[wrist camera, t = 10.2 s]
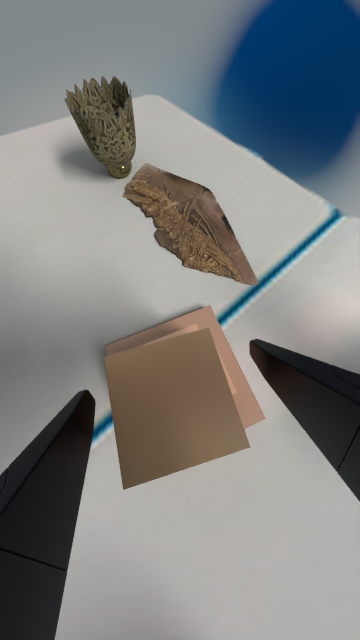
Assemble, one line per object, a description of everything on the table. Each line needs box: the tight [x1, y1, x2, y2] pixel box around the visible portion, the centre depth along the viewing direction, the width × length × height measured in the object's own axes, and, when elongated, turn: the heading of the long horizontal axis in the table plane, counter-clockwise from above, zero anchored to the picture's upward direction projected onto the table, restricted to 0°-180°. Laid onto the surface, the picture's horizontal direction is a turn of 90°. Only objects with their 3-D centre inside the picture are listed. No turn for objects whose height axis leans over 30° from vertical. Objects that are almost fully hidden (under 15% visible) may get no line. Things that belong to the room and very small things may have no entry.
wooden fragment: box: [124, 163, 259, 285], centre depth 24 cm, size 26×11×1 cm, turn 33°
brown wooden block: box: [104, 327, 250, 490], centre depth 11 cm, size 3×3×13 cm
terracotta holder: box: [105, 305, 266, 429], centre depth 15 cm, size 12×12×5 cm
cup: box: [65, 76, 136, 178], centre depth 23 cm, size 8×7×8 cm
